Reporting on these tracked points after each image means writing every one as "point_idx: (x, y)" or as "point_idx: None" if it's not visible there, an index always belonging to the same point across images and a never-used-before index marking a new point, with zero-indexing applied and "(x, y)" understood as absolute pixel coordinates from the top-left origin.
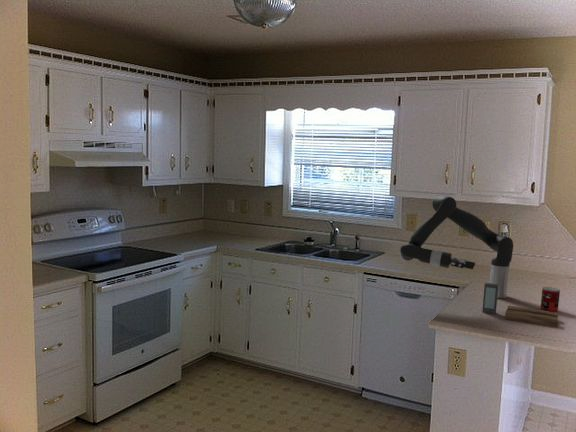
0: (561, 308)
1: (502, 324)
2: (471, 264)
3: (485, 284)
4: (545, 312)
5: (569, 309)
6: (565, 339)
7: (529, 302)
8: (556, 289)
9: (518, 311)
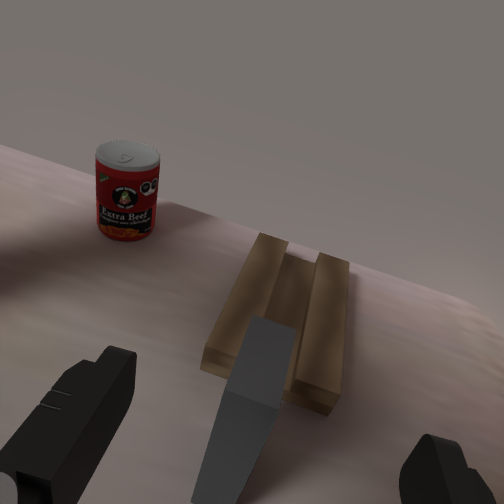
0: None
1: None
2: (468, 474)
3: (279, 405)
4: (271, 259)
5: None
6: (456, 305)
7: (6, 236)
8: (130, 146)
9: None
